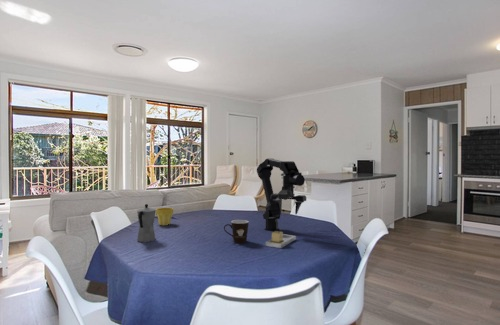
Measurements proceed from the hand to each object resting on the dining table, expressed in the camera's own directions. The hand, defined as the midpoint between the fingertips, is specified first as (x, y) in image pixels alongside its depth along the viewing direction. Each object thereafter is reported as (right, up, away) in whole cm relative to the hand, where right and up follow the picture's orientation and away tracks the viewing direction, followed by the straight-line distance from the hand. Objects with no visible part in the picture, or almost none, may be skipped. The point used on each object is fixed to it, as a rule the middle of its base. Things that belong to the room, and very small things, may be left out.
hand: (288, 213), depth 157 cm
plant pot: (-74, -12, +26) cm, 80 cm away
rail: (-5, -12, -13) cm, 19 cm away
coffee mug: (-27, -12, -12) cm, 32 cm away
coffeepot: (-73, -12, -11) cm, 75 cm away
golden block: (-7, -12, -17) cm, 22 cm away
